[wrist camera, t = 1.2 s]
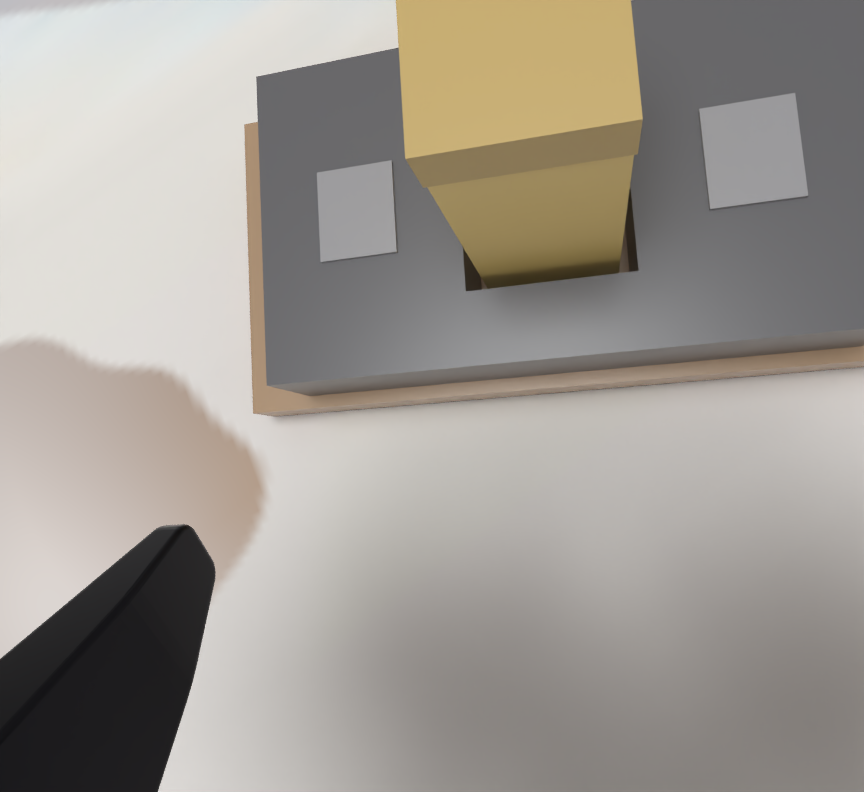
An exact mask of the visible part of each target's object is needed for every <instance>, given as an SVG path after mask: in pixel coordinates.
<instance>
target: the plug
mask: <svg viewBox="0 0 864 792" xmlns="http://www.w3.org/2000/svg"><path fill="white" fill-rule="evenodd" d="M396 9H397V26H398V43H399V60H400V77H401V94H402V112H403V129H404V146H405V159H406V161H407V162H408V164H409V166H410V167H411V169H412V171H413V172H414V174H415V175H416V177H417V179H418V180H419V182H420V184H421V185H422V187H423V188H425V187H427V188H428V190H429V191H430V193H431V195H432V196H433V198H434V200H435V201H436V203H437V205H438V206H439V208H440V210H441V211H442V213H443V215H444V216H445V218H446V220H447V221H448V223H449V225H450V226H451V228H452V230H453V231H454V233H455V235H456V236H457V238H458V240H459V241H460V243H461V245H462V246H463V248H464V250H465V251H466V253H467V255H468V256H469V258H470V260H471V261H472V263H473V265H474V266H475V268H476V270H477V271H478V273H479V275H480V276H481V278H482V280H483V281H484V283H485V285H486V286H487V288H488V289H491V288H499V287H508V286H516V285H524V284H533V283H541V282H549V281H558V280H566V279H574V278H583V277H591V276H599V275H608V274H616V273H619V266H620V259H621V251H622V243H623V236H624V228H625V220H626V213H627V205H628V197H629V190H630V182H631V174H632V167H633V159H634V155H637V154H638V149H639V142H640V135H641V128H642V121H643V116H642V106H641V96H640V87H639V77H638V67H637V57H636V47H635V37H634V27H633V17H632V7H631V0H396Z"/></svg>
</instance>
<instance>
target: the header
mask: <svg viewBox="0 0 864 792" xmlns="http://www.w3.org/2000/svg"><path fill="white" fill-rule="evenodd" d="M631 7H632V17H633V27H634V37H635V47H636V57H637V67H638V77H639V87H640V96H641V106H642V116H643V121H642V128H641V135H640V142H639V149H638V154H637V155H634V159H633V167H632V174H631V182H630V190H629V197H628V205H627V213H626V220H625V228H624V236H623V243H622V251H621V259H620V266H619V273H616V274H608V275H599V276H591V277H583V278H574V279H566V280H558V281H549V282H541V283H533V284H524V285H516V286H508V287H499V288H491V289H488V288H487V286H486V285H485V283H484V281H483V280H482V278H481V276H480V275H479V273H478V271H477V270H476V268H475V266H474V265H473V263H472V261H471V260H470V258H469V256H468V255H467V253H466V251H465V250H464V248H463V246H462V245H461V243H460V241H459V240H458V238H457V236H456V235H455V233H454V231H453V230H452V228H451V226H450V225H449V223H448V221H447V220H446V218H445V216H444V215H443V213H442V211H441V210H440V208H439V206H438V205H437V203H436V201H435V200H434V198H433V196H432V195H431V193H430V191H429V190H428V188H427V187H425V188H423V187H422V185H421V184H420V182H419V180H418V179H417V177H416V175H415V174H414V172H413V171H412V169H411V167H410V166H409V164H408V162H407V161H406V159H405V146H404V129H403V112H402V94H401V77H400V60H399V48H395V49H390V50H385V51H380V52H376V53H371V54H366V55H361V56H356V57H351V58H346V59H341V60H336V61H332V62H327V63H322V64H317V65H312V66H307V67H302V68H297V69H292V70H287V71H283V72H278V73H273V74H268V75H263V76H258V77H256V78H257V108H258V122H256V123H250V124H245V125H244V126H245V159H246V191H247V224H248V257H249V290H250V323H251V356H252V388H253V413H254V414H261V415H267V416H286V415H298V414H310V413H322V412H334V411H345V410H357V409H369V408H381V407H393V406H405V405H417V404H428V403H440V402H452V401H464V400H476V399H488V398H500V397H511V396H523V395H535V394H547V393H559V392H571V391H583V390H594V389H606V388H618V387H630V386H642V385H654V384H666V383H678V382H689V381H701V380H713V379H725V378H737V377H749V376H761V375H772V374H784V373H796V372H808V371H820V370H832V369H844V368H855V367H864V0H631Z"/></svg>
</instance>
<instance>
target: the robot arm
mask: <svg viewBox="0 0 864 792" xmlns="http://www.w3.org/2000/svg"><path fill="white" fill-rule="evenodd" d="M214 582H215V566H214V563H213V560H212V559H211V557H210V555H209V554H208V552H207V550H206V549H205V547H204V545H203V544H202V542H201V540H200V539H199V537H198V535H197V534H196V532H195V530H194V529H193V528H192V527H190V526H189V525H185V524H183V525H166V526H161V527H159V528H157V529H156V530H154V531H153V532H152V533H151V534H149V535H148V536H147V537H146V538H145V539H143V540H142V541H141V542H140V543H139V544H137V545H136V546H135V547H134V548H133V549H131V550H130V551H129V552H128V553H127V554H125V555H124V556H123V557H122V558H121V559H119V560H118V561H117V562H116V563H115V564H114V565H112V566H111V567H110V568H109V569H108V570H106V571H105V572H104V573H103V574H101V575H100V576H99V577H98V578H97V579H95V580H94V581H93V582H92V583H91V584H90V585H88V586H87V587H86V588H85V589H83V590H82V591H81V592H80V593H79V594H77V596H75V597H74V598H73V599H71V600H70V601H69V602H68V603H67V604H66V605H64V606H63V607H62V608H61V609H60V610H59V611H57V612H56V613H55V614H54V615H52V616H51V617H50V618H49V619H48V620H46V621H45V622H44V623H43V624H42V625H41V626H39V627H38V628H37V629H36V630H34V631H33V632H32V633H31V634H30V635H28V636H27V637H26V638H25V639H24V640H22V641H21V642H20V643H19V644H18V645H16V646H15V647H14V648H13V649H12V650H11V651H9V652H8V653H7V654H6V655H4V656H3V657H2V658H1V659H0V792H158V789H159V786H160V783H161V780H162V777H163V774H164V771H165V768H166V764H167V761H168V758H169V755H170V752H171V749H172V746H173V743H174V740H175V737H176V734H177V730H178V727H179V724H180V721H181V718H182V715H183V712H184V709H185V706H186V703H187V699H188V696H189V692H190V689H191V686H192V682H193V678H194V674H195V670H196V666H197V661H198V657H199V652H200V647H201V643H202V638H203V633H204V629H205V624H206V619H207V615H208V610H209V605H210V601H211V596H212V592H213V587H214Z"/></svg>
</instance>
